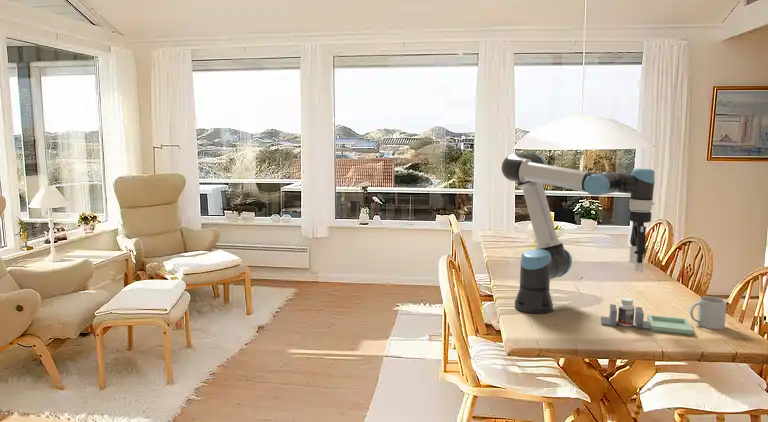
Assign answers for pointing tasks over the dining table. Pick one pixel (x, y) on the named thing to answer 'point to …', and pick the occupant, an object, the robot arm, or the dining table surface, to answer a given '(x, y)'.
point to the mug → (710, 312)
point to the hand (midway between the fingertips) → (635, 266)
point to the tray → (670, 325)
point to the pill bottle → (626, 312)
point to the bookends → (638, 318)
